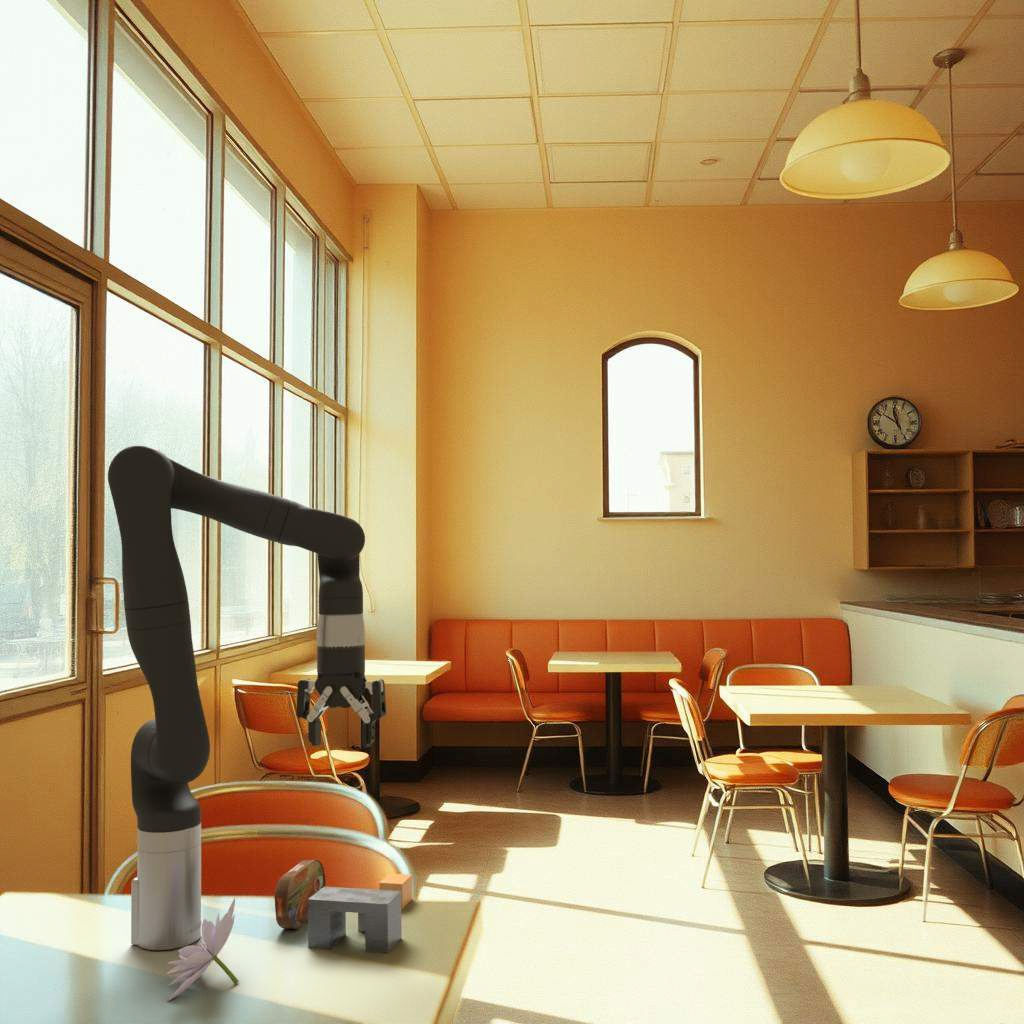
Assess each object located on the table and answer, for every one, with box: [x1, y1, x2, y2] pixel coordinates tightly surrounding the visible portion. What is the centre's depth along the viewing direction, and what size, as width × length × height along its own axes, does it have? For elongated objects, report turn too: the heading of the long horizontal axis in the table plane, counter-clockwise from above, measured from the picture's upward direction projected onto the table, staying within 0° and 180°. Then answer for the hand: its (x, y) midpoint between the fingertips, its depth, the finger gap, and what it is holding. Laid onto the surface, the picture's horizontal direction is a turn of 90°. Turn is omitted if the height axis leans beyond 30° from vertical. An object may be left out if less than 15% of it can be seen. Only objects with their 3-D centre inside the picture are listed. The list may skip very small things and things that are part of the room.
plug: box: [357, 873, 413, 932], centre depth 163 cm, size 4×16×4 cm, turn 167°
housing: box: [307, 886, 402, 954], centre depth 151 cm, size 12×6×7 cm, turn 77°
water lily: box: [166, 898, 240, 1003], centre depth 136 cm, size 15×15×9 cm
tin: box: [274, 859, 326, 930], centre depth 161 cm, size 15×3×8 cm, turn 168°
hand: (341, 746), depth 159 cm, fingers open, 8 cm apart
